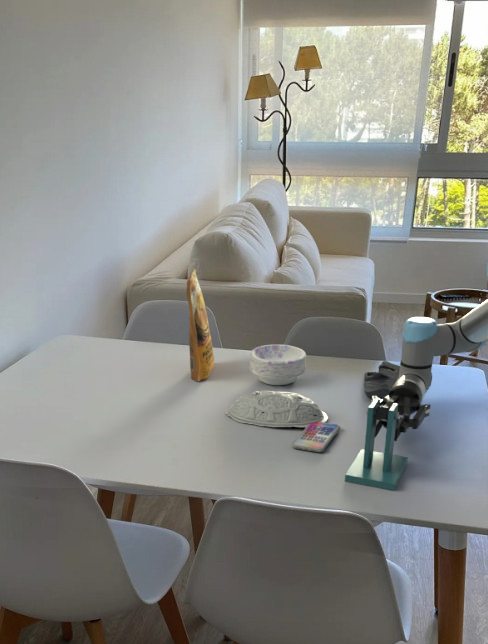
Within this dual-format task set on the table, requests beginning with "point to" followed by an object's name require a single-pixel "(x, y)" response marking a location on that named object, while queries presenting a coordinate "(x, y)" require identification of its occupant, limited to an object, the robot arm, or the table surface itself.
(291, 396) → the carved stone relief
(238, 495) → the table surface
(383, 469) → the bracket
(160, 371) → the table surface
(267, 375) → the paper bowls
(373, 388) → the dark slate chunk
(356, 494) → the table surface
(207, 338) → the pancake mix bag
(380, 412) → the lever
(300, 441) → the smartphone
